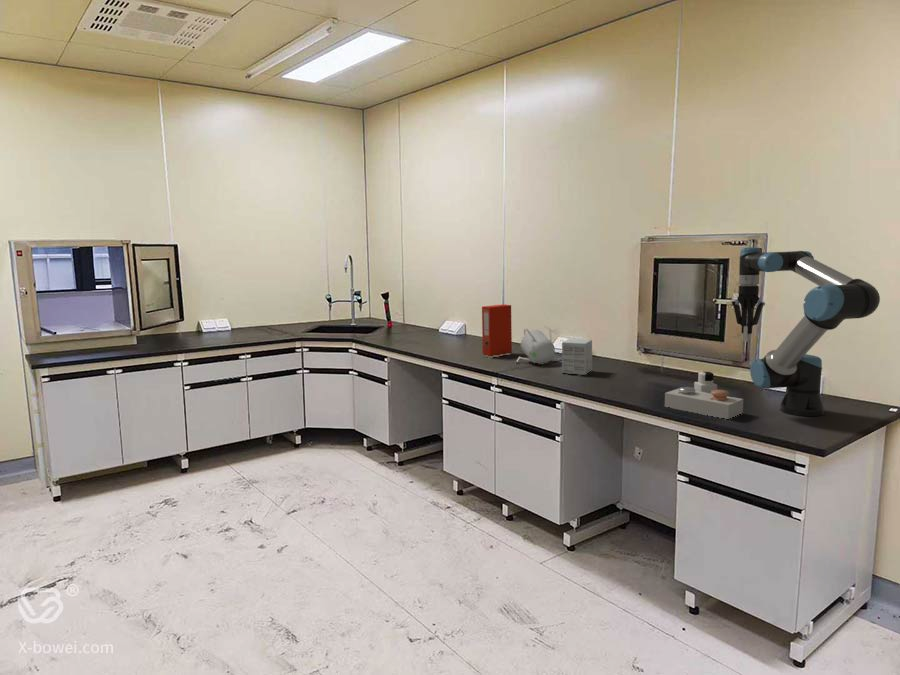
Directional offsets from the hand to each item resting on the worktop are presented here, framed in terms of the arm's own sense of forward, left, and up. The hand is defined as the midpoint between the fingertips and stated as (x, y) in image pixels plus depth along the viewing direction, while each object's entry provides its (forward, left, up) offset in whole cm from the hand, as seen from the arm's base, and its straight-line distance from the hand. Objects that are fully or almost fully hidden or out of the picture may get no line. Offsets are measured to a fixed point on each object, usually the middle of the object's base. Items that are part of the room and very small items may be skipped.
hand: (746, 341), depth 249 cm
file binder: (+157, -4, -27) cm, 159 cm away
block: (+6, +23, -26) cm, 35 cm away
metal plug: (+13, +23, -26) cm, 37 cm away
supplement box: (+89, +1, -27) cm, 93 cm away
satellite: (+122, -5, -27) cm, 125 cm away
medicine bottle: (+14, +6, -27) cm, 31 cm away
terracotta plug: (-1, +23, -25) cm, 34 cm away
